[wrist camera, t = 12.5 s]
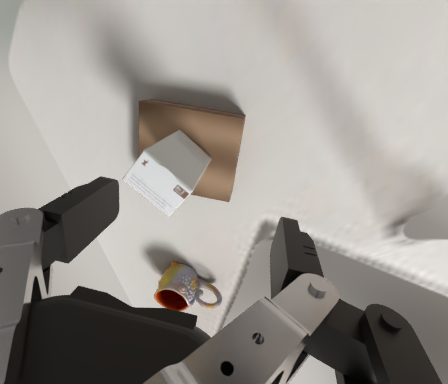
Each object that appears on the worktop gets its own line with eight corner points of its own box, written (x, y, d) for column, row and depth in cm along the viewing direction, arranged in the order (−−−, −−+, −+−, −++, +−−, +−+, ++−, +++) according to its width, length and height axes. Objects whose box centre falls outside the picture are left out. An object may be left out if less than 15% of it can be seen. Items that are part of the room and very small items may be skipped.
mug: (162, 281, 51) (149, 308, 45) (168, 256, 48) (154, 281, 42) (219, 300, 50) (213, 329, 44) (228, 275, 48) (223, 303, 42)
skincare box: (162, 150, 35) (116, 180, 24) (181, 126, 34) (141, 147, 22) (195, 179, 36) (166, 220, 25) (215, 157, 35) (193, 191, 24)
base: (151, 99, 37) (139, 100, 33) (245, 115, 36) (243, 119, 32) (149, 175, 42) (138, 184, 38) (232, 191, 41) (229, 202, 37)
